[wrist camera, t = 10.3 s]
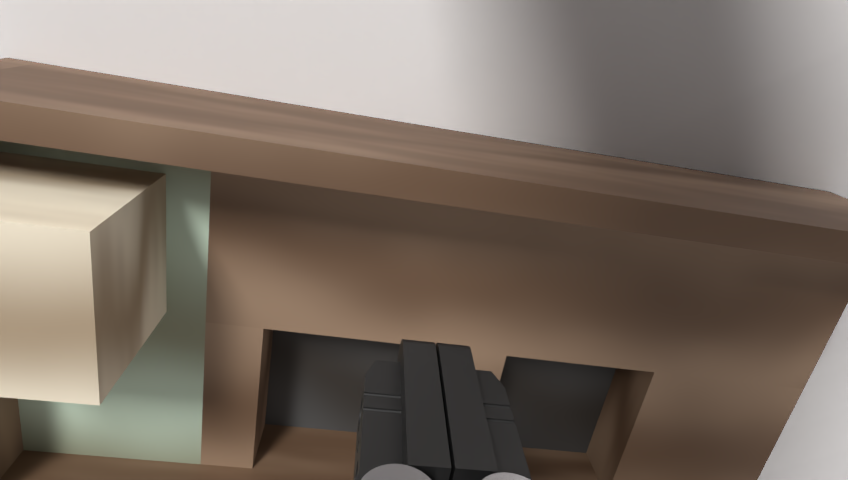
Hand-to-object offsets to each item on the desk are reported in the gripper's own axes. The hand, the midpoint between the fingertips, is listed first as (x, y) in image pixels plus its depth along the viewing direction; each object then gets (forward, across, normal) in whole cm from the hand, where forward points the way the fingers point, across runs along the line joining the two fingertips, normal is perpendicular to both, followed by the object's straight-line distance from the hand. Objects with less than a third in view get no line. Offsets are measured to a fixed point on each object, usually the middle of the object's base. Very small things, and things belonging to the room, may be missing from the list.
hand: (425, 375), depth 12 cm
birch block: (+7, +11, +1) cm, 13 cm away
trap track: (+10, -1, +4) cm, 11 cm away
